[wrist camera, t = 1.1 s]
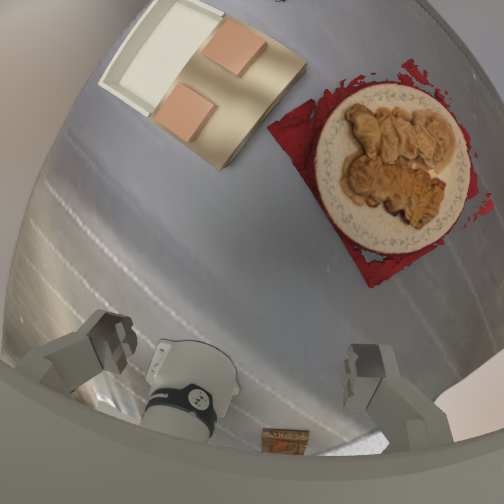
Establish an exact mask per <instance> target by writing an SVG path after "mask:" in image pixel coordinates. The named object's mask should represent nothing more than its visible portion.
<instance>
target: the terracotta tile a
mask: <svg viewBox="0 0 504 504" xmlns="http://www.w3.org/2000/svg"><path fill="white" fill-rule="evenodd" d="M218 107H219V106H218V105H216V104H215V103H213V102H212V101H210V100H209V99H207V98H206V97H204V96H203V95H201V94H200V93H198V92H197V91H195V90H194V89H192V88H190V87H189V86H187V85H186V84H183V83H180V82H178V83H177V85H176V86H175V88H174V89H173V91H172V92H171V94H170V95H169V96H168V98H167V99H166V101H165V103H164V104H163V106H162V107H161V109H160V110H159V112H158V113H157V115H156V117H155V118H154V119H155V120H157V121H158V122H159V123H161V124H162V125H164V126H165V127H167V128H168V129H169V130H171V131H172V132H174V133H175V134H176V135H178V136H179V137H181V138H182V139H183V140H185V141H186V142H192V141H194V140H195V138H196V137H197V136H198V134H199V133H200V131H201V130H202V128H203V127H204V126H205V124H206V123H207V122H208V120H209V119H210V117H211V116H212V115H213V113H214V112H215V111H216V109H217V108H218Z"/></svg>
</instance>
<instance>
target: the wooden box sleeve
mask: <svg viewBox="0 0 504 504" xmlns="http://www.w3.org/2000/svg"><path fill="white" fill-rule="evenodd" d="M228 19H229V20H231V21H233V22H234V23H236V24H238V25H240V26H242V27H244V28H245V29H247V30H249V31H251V32H252V33H254V34H256V35H258V36H259V37H261V38H263V39H264V40H266V42H267V44H268V46H267V48H266V49H265V50H264V51H263V52H262V53H261V54H260V56H259V57H258V58H257V59H256V60H255V61H254V63H253V64H252V65H251V66H250V67H249V69H248V70H247V71H246V72H245V73H244V75H243V76H242V77H241V78H239V77H237V76H236V75H234V74H233V73H231V72H230V71H228V70H226V69H225V68H223V67H222V66H220V65H218V64H217V63H215V62H213V61H212V60H210V59H208V58H207V57H205V56H204V55H202V54H201V53H200V52H201V51H202V50H203V49H204V47H205V46H206V45H207V44H208V42H209V41H210V40H211V39H212V38H213V36H214V35H215V34H216V33H217V32H218V30H219V29H220V28H221V27H222V26H223V25H224V24H225V22H226V21H227V20H228ZM306 67H307V62H306V61H305V60H304V59H302V58H301V57H299V56H298V55H296V54H295V53H293V52H292V51H290V50H289V49H287V48H286V47H284V46H283V45H281V44H280V43H278V42H277V41H275V40H273V39H272V38H270V37H269V36H267V35H265V34H264V33H262V32H260V31H258V30H257V29H255V28H253V27H252V26H250V25H248V24H246V23H244V22H243V21H241V20H239V19H237V18H235V17H233V16H231V15H229V14H227V15H226V16H225V17H224V18H223V19H222V20H221V21H220V22H219V24H218V25H217V26H216V27H215V28H214V29H213V31H212V32H211V33H210V34H209V35H208V37H207V38H206V39H205V40H204V41H203V43H202V44H201V45H200V46H199V48H198V49H197V50H196V52H195V53H194V54H193V55H192V57H191V58H190V59H189V61H188V62H187V63H186V65H185V66H184V67H183V69H182V70H181V72H180V73H179V74H178V76H177V77H176V79H175V80H174V81H173V83H172V84H171V86H170V87H169V89H168V90H167V92H166V93H165V95H164V96H163V98H162V99H161V101H160V102H159V104H158V105H157V107H156V108H155V110H154V112H153V113H152V115H151V116H150V118H149V120H150V121H151V122H153V123H154V124H156V125H157V126H158V127H160V128H161V129H163V130H164V131H166V132H167V133H168V134H170V135H171V136H173V137H174V138H175V139H177V140H178V141H180V142H181V143H182V144H184V145H185V146H186V147H188V148H189V149H191V150H192V151H193V152H195V153H196V154H197V155H199V156H200V157H201V158H203V159H204V160H205V161H207V162H208V163H210V164H211V165H212V166H214V167H215V168H216V169H218V170H219V171H220V170H221V169H223V168H225V167H227V166H229V165H230V163H231V162H232V161H233V159H234V158H235V157H236V155H237V154H238V153H239V151H240V150H241V149H242V148H243V146H244V145H245V144H246V142H247V141H248V140H249V139H250V137H251V136H252V135H253V133H254V132H255V131H256V130H257V128H258V127H259V126H260V125H261V123H262V122H263V121H264V120H265V118H266V117H267V116H268V115H269V114H270V112H271V111H272V110H273V109H274V107H275V106H276V105H277V104H278V103H279V101H280V100H281V99H282V98H283V97H284V96H285V94H286V93H287V92H288V91H289V90H290V88H291V87H292V86H293V85H294V84H295V83H296V82H297V80H298V79H299V78H300V77H301V76H302V75H303V74H304V72H305V71H306ZM178 82H180V83H183V84H186V85H187V86H189V87H190V88H192V89H194V90H195V91H197V92H198V93H200V94H201V95H203V96H204V97H206V98H207V99H209V100H210V101H212V102H213V103H215V104H216V105H218V106H219V107H218V108H217V109H216V111H215V112H214V113H213V115H212V116H211V117H210V119H209V120H208V122H207V123H206V124H205V126H204V127H203V128H202V130H201V131H200V133H199V134H198V136H197V137H196V138H195V140H194V141H192V142H186V141H185V140H183V139H182V138H181V137H179V136H178V135H176V134H175V133H174V132H172V131H171V130H169V129H168V128H167V127H165V126H164V125H162V124H161V123H159V122H158V121H157V120H155V119H154V118H155V117H156V115H157V113H158V112H159V110H160V109H161V107H162V106H163V104H164V103H165V101H166V99H167V98H168V96H169V95H170V94H171V92H172V91H173V89H174V88H175V86H176V85H177V83H178Z"/></svg>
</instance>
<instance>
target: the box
mask: <svg viewBox="0 0 504 504" xmlns="http://www.w3.org/2000/svg"><path fill="white" fill-rule="evenodd" d="M225 16H226V15H225V13H223V12H221V11H219V10H217V9H215V8H213V7H211V6H209V5H207V4H204V3H202V2H200V1H198V0H154V1H153V3H152V4H151V5H150V6H149V8H148V9H147V10H146V11H145V13H144V14H143V15H142V17H141V18H140V19H139V21H138V22H137V23H136V25H135V26H134V27H133V29H132V30H131V32H130V33H129V35H128V36H127V37H126V39H125V40H124V42H123V43H122V45H121V46H120V48H119V50H118V51H117V53H116V54H115V56H114V57H113V59H112V61H111V62H110V64H109V66H108V67H107V69H106V71H105V72H104V74H103V76H102V78H101V79H100V81H99V83H98V85H100V86H101V87H103V88H104V89H106V90H108V91H109V92H111V93H112V94H114V95H115V96H117V97H118V98H120V99H121V100H123V101H124V102H126V103H127V104H129V105H130V106H131V107H133V108H134V109H136V110H137V111H139V112H140V113H142V114H143V115H145V116H146V117H150V116H151V115H152V113H153V112H154V110H155V108H156V107H157V105H158V104H159V102H160V101H161V99H162V98H163V96H164V95H165V93H166V92H167V90H168V89H169V87H170V86H171V84H172V83H173V81H174V80H175V79H176V77H177V76H178V74H179V73H180V72H181V70H182V69H183V67H184V66H185V65H186V63H187V62H188V61H189V59H190V58H191V57H192V55H193V54H194V53H195V52H196V50H197V49H198V48H199V46H200V45H201V44H202V43H203V41H204V40H205V39H206V38H207V37H208V35H209V34H210V33H211V32H212V31H213V29H214V28H215V27H216V26H217V25H218V24H219V22H220V21H221V20H222V19H223V18H224V17H225Z"/></svg>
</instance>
